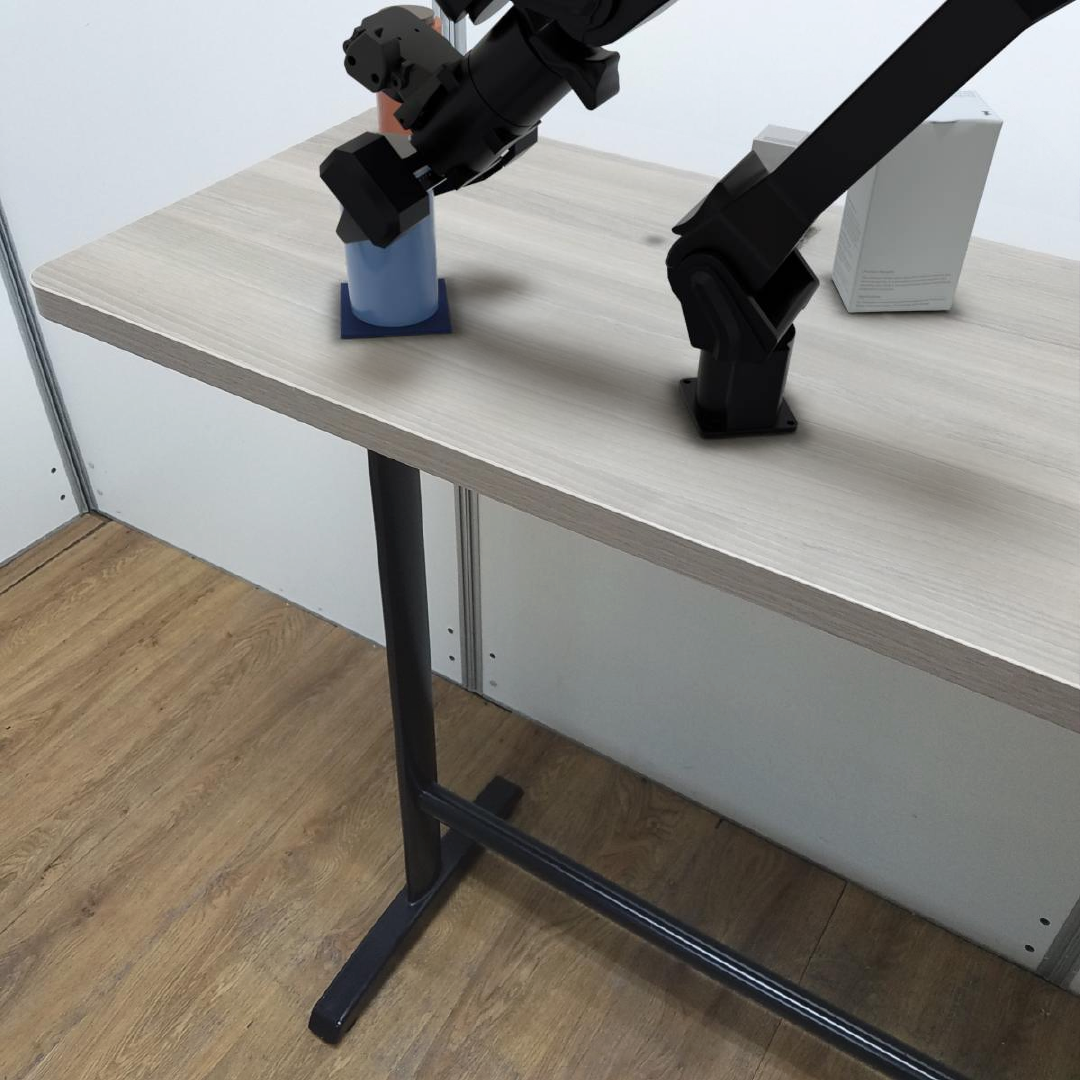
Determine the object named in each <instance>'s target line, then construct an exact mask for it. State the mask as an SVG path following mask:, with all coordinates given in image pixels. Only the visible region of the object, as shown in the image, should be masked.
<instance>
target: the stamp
mask: <svg viewBox="0 0 1080 1080" xmlns="http://www.w3.org/2000/svg"><path fill="white" fill-rule="evenodd" d="M812 132H813V131H806V130H801V129H797V128H792V127H786V126H780V125H776V124H770V123H768V125H766V126H765V127H764V128H763V129H762V131H760V132H759V133H758V134H757V135H756V136H755V137H754V138H753V139H752V145H751V148H750V149H751V150H754V151H755V152H756V154H757V155H758V157H759V158H760V160H761V161H762V163H763V164H764V166H765V167H768V166H769V165H771V164H773V163H775V162H776V161H778V160H780V159H781V158H783V157H785V156H786V155H788V154H789V153H791V152H792V151H793V150H794V149H795V148H797V147H798V146H799V145H800V144H801V143H802V142H803V141H804V140H805V139H806V138H807V137H808V136H809V135H810V134H811V133H812ZM751 150H750V151H751Z"/></svg>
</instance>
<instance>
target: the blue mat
mask: <svg viewBox="0 0 1080 1080" xmlns="http://www.w3.org/2000/svg"><path fill="white" fill-rule="evenodd" d="M446 286H447V285H446V281H445V278H444V277H441V278H439V277H438V290H439V307H438V309H437V311H436V312H435V314H434V315H432V316H431V317H430V318H428V319H426V320H424V321H422V322H420V323H417V324H413V325H409V326H402V327H382V326H376V325H371V324H368V323H366V322H363V321H361V320H360V319H358V318H357V317H356V316H355V315H354V314H353V313H352V311H351V306H350V297H349V288H348V282H341V283H340V339H343V340H344V339H362V338H377V337H378V338H379V337H380V338H381V337H396V336H397V337H399V336H415V335H416V336H417V335H434V334H435V335H436V334H452V333H453V328H452V321H451V314H450V308H449V307H450V306H449V301H448V294H447V287H446Z"/></svg>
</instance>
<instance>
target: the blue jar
mask: <svg viewBox="0 0 1080 1080" xmlns="http://www.w3.org/2000/svg"><path fill="white" fill-rule="evenodd" d="M375 133H376V134H381V135H384V136H385V137H386V138H387V140H388V141H389V142H390V144H391V145H392V146H393V148H394V149H395V150H396V152H397V153H398V154H399V155H400V157H401V158H402V159H405V158H407V157H408V156H410V155H412V154H413V153H415V152H417V151H416V149H415V148H414V147H413V146H412V145H411V143H410V142H409V140H408V136H407V135H403V134H398V133H379V132H375ZM354 138H355V137H353V138H351V139H350V140H352V139H354ZM430 170H431V169H430V168H428V169H426V170H425V171H423V172H421V173H420V174H418V175H417V176H416V178H418V177H420V176H421V175H423V174H424V173H426V172H428V171H430ZM427 192H428V194H429V202H430V215H429V216H428V217H427V218H425V219H424V220H423V221H422V222H421V223H420V225H418V226H417V227H416V228H414V229H413V230H411V231H410V232H409V233H407V234H406V235H405V236H403V237H402V238H400V239H399V240H397V241H396V242H394V243H393V244H391V245H390V246H388V247H387V248H385V249H383V248H380V247H377V246H374V245H373V244H372V243H371V241H370V240H367V241H361V242H355V243H349V244H345V243H344V242H343V249H344V250H343V251H344V258H345V268H346V269H345V270H346V277H347V283H348V288H349V297H350V306H351V311H352V313H353V314H354V315H355V316H356V317H357V318H358V319H360V320H361V321H363V322H366V323H368V324H371V325H376V326H382V327H402V326H409V325H413V324H417V323H420V322H422V321H424V320H426V319H428V318H430V317H431V316H432V315H434V314H435V312H436V311H437V309H438V307H439V290H438V278H439V270H438V251H437V250H438V249H437V230H436V229H437V228H436V209H435V208H436V207H435V197H434V188H432V189H430V190H429V191H427ZM338 202H339V201H338ZM343 209H344V207H343V206H342V204H341V203H340V202H339V212H340V215H341V214H342V212H343Z"/></svg>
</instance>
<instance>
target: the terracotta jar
mask: <svg viewBox="0 0 1080 1080" xmlns="http://www.w3.org/2000/svg"><path fill="white" fill-rule="evenodd" d="M392 6H393V5H389V6H385V7H383V8H380V9H379V10H378V11H377V12H380V11H382V10H384V9H387V8H389V7H392ZM394 6H398V7H402V8H405V9H407V10H409V11H410V12H412V13H413V14H414V15H416V16H417V17H418V18H420V19H421V20H422V21H424V22H425V23H426V24H428V25H429V26H430V27H432V28H433V29H434V30H436V31H437V32H438V33H440V34H441V35H442V36H444V21H443V19H442V18H441V17H439V16H436V13H435V10H434V9H432V8H430V7H427V6H424V5H417V4H397V5H396V4H395V5H394ZM375 99H376V110H377V111H376V112H377V123H378V133H398V134H403V135H407V136H409V135H410V134H411V133H412V132H411V130H410V129H408V130H404V129H403V127H402V126H401V125H400V124H399V122H398V121H397V120H396V118H395V117H394V116H393V114H394V112H395V111H396V110H397V109H398V108H399V107H400V106H401V105H402V103H399V102H396V101H394V100H393V99H391V98H390V97H388V96H387V95H386V94H384V93H383V92H382V91H380V92H377V93H375Z"/></svg>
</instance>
